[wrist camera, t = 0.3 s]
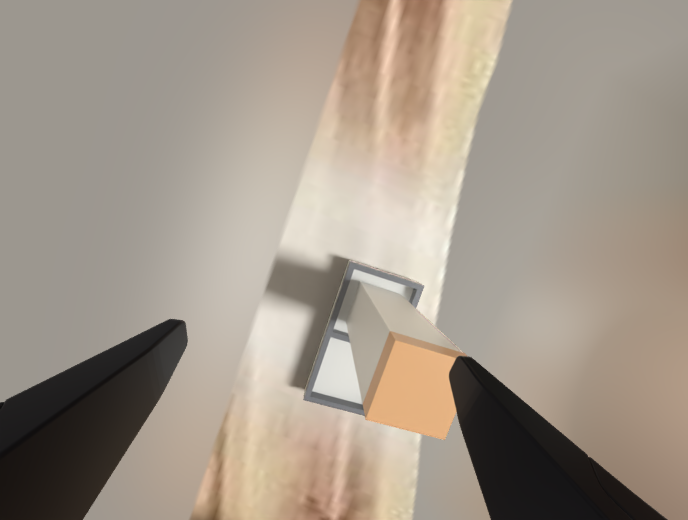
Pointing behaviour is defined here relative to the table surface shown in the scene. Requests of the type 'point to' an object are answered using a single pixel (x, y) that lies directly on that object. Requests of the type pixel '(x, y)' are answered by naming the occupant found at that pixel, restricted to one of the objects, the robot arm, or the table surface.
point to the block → (401, 363)
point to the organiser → (335, 350)
